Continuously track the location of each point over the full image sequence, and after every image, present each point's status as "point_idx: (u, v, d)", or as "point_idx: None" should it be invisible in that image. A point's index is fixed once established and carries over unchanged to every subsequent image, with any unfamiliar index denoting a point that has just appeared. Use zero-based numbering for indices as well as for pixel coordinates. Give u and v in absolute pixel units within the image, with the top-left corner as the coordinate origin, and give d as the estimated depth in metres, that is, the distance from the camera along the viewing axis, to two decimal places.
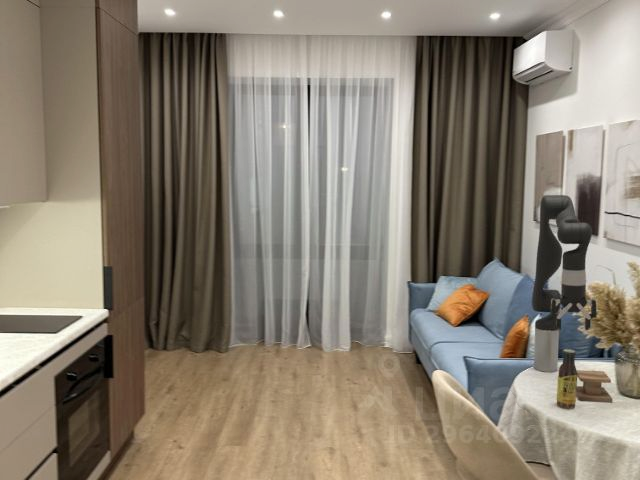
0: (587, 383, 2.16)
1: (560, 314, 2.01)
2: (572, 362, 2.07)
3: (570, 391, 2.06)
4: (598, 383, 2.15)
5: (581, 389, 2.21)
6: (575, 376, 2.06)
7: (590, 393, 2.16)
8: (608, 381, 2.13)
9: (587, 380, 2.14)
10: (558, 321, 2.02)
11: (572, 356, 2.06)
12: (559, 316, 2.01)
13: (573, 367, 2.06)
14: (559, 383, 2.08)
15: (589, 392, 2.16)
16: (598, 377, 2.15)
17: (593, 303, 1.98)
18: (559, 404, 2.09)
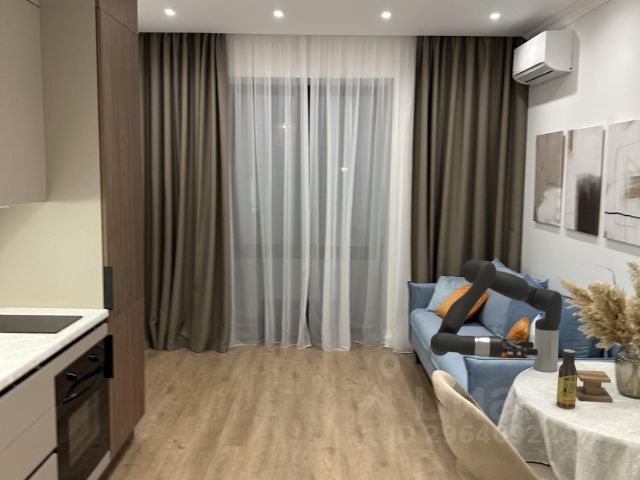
0: (587, 383, 2.16)
1: None
2: (572, 362, 2.07)
3: (570, 391, 2.06)
4: (598, 383, 2.15)
5: (581, 389, 2.21)
6: (575, 376, 2.06)
7: (590, 393, 2.16)
8: (608, 381, 2.13)
9: (587, 380, 2.14)
10: None
11: (572, 356, 2.06)
12: None
13: (573, 367, 2.06)
14: (559, 383, 2.08)
15: (589, 392, 2.16)
16: (598, 377, 2.15)
17: None
18: (559, 404, 2.09)
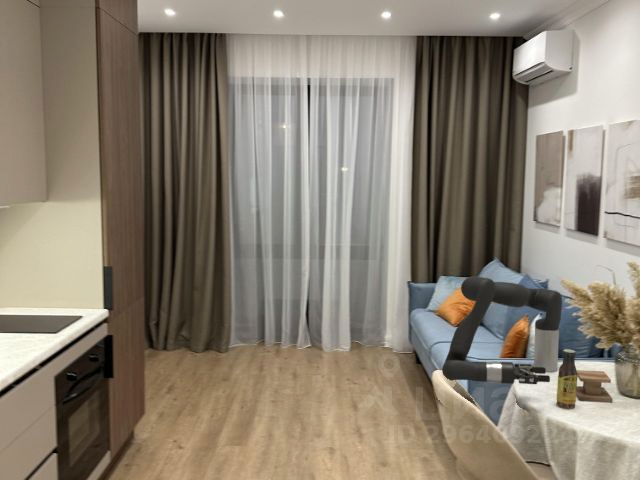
0: (587, 383, 2.16)
1: None
2: (572, 362, 2.07)
3: (570, 391, 2.06)
4: (598, 383, 2.15)
5: (581, 389, 2.21)
6: (575, 376, 2.06)
7: (590, 393, 2.16)
8: (608, 381, 2.13)
9: (587, 380, 2.14)
10: None
11: (572, 356, 2.06)
12: None
13: (573, 367, 2.06)
14: (559, 383, 2.08)
15: (589, 392, 2.16)
16: (598, 377, 2.15)
17: None
18: (559, 404, 2.09)
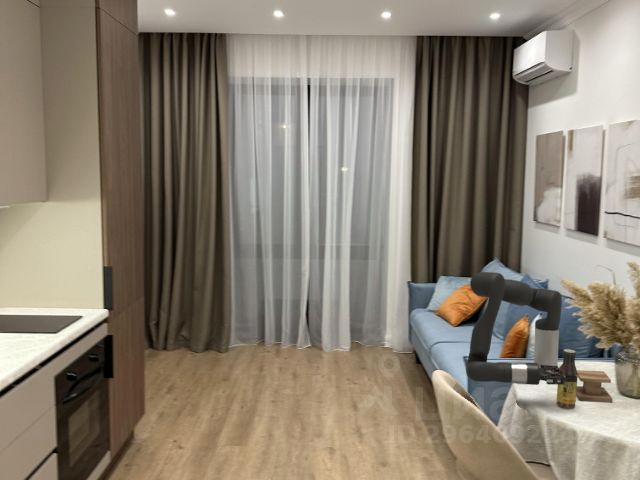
0: (587, 383, 2.16)
1: None
2: (572, 362, 2.06)
3: (570, 391, 2.06)
4: (598, 383, 2.15)
5: (581, 389, 2.21)
6: None
7: (590, 393, 2.16)
8: (608, 381, 2.13)
9: (587, 380, 2.14)
10: None
11: (572, 356, 2.06)
12: None
13: (573, 367, 2.06)
14: None
15: (589, 392, 2.16)
16: (598, 377, 2.15)
17: None
18: (559, 404, 2.09)
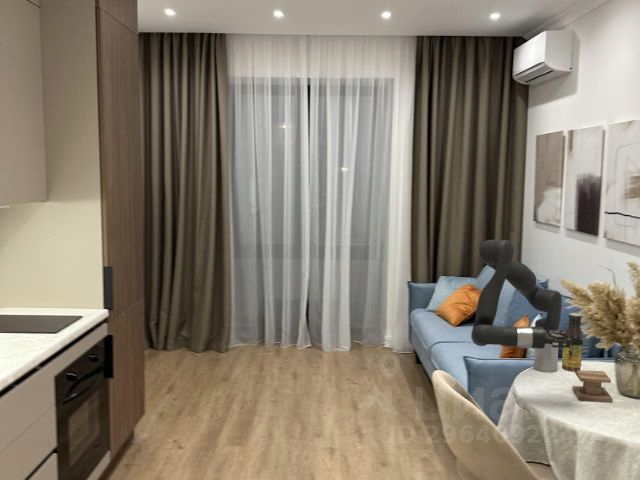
0: (587, 383, 2.16)
1: None
2: (578, 326, 2.06)
3: (576, 355, 2.06)
4: (598, 383, 2.15)
5: (581, 389, 2.21)
6: None
7: (590, 393, 2.16)
8: (608, 381, 2.13)
9: (587, 380, 2.14)
10: None
11: (578, 319, 2.06)
12: None
13: (579, 331, 2.06)
14: (565, 347, 2.08)
15: (589, 392, 2.16)
16: (598, 377, 2.15)
17: None
18: (564, 368, 2.09)
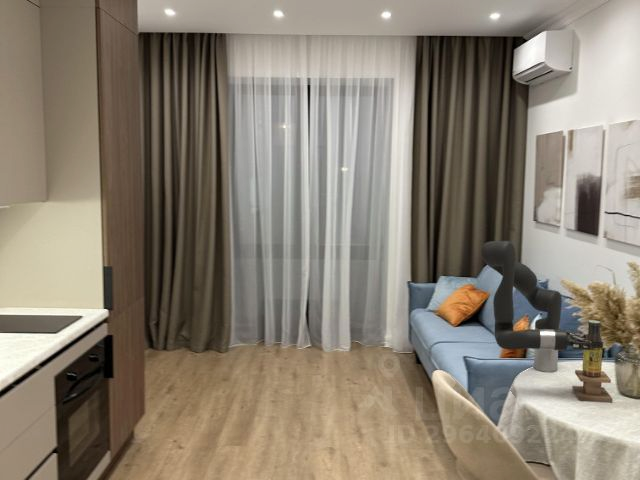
0: (587, 383, 2.16)
1: None
2: (597, 332, 2.14)
3: (596, 360, 2.14)
4: (598, 383, 2.15)
5: (581, 389, 2.21)
6: None
7: (590, 393, 2.16)
8: (608, 381, 2.13)
9: (587, 380, 2.14)
10: None
11: (597, 326, 2.13)
12: None
13: (598, 337, 2.14)
14: (585, 353, 2.16)
15: (589, 392, 2.16)
16: (598, 377, 2.15)
17: None
18: (585, 373, 2.16)
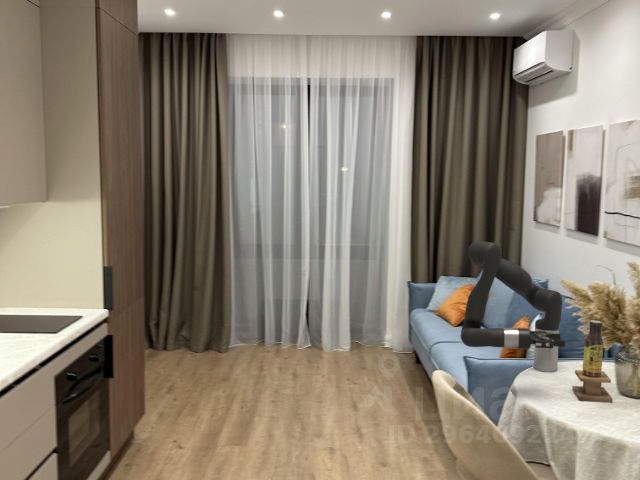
0: (587, 383, 2.16)
1: None
2: (598, 332, 2.14)
3: (596, 360, 2.14)
4: (598, 383, 2.15)
5: (581, 389, 2.21)
6: (601, 346, 2.14)
7: (590, 393, 2.16)
8: (608, 381, 2.13)
9: (587, 380, 2.14)
10: None
11: (599, 326, 2.14)
12: None
13: (599, 337, 2.14)
14: (585, 352, 2.16)
15: (589, 392, 2.16)
16: (598, 377, 2.15)
17: None
18: (585, 373, 2.16)
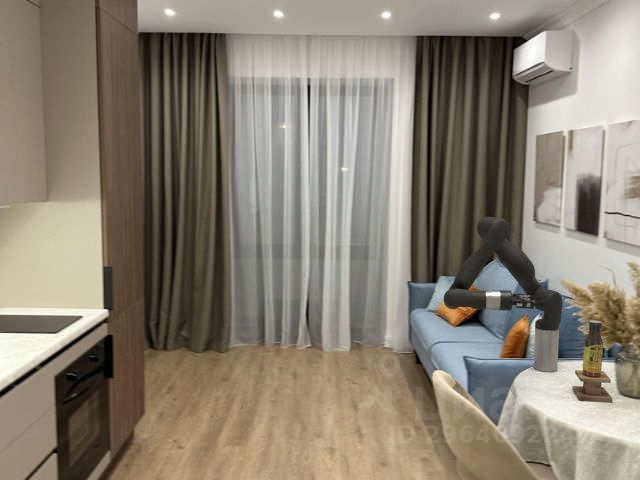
0: (587, 383, 2.16)
1: None
2: (598, 332, 2.14)
3: (596, 360, 2.14)
4: (598, 383, 2.15)
5: (581, 389, 2.21)
6: (601, 345, 2.14)
7: (590, 393, 2.16)
8: (608, 381, 2.13)
9: (587, 380, 2.14)
10: (533, 300, 2.26)
11: (598, 326, 2.14)
12: None
13: (599, 337, 2.14)
14: (585, 353, 2.16)
15: (589, 392, 2.16)
16: (598, 377, 2.15)
17: None
18: (585, 373, 2.16)
